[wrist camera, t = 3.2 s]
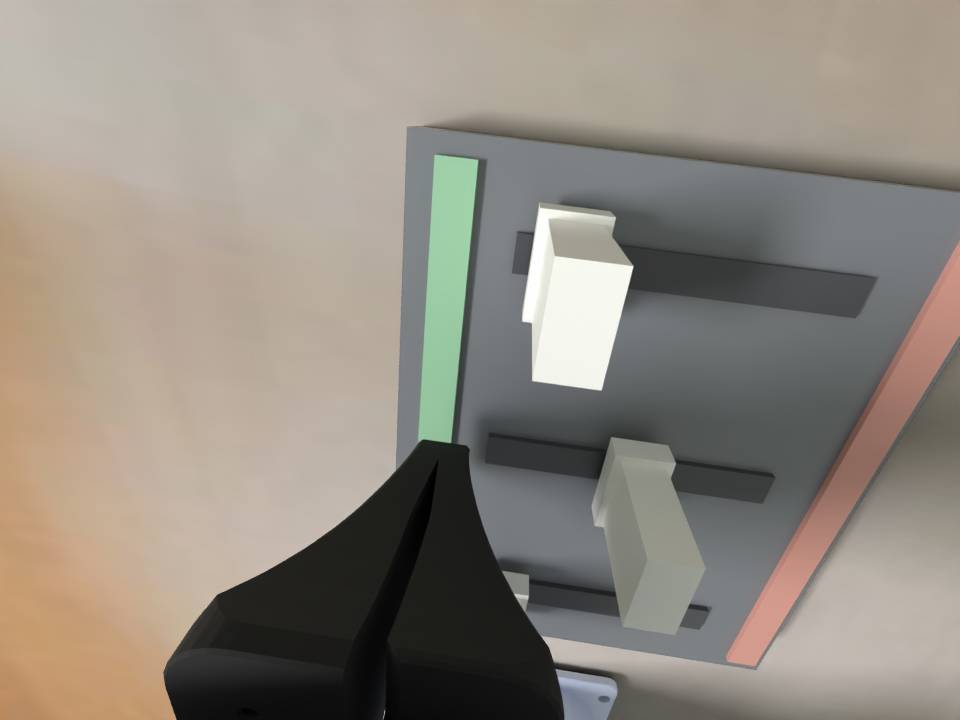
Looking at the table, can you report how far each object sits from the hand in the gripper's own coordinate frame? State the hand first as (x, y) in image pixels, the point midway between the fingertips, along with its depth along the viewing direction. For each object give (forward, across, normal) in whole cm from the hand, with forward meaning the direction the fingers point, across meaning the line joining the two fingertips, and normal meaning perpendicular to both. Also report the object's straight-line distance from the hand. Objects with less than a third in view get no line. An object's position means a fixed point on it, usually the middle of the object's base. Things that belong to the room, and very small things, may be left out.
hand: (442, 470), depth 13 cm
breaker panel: (+3, -5, 0) cm, 6 cm away
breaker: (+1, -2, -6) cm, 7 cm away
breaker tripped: (+1, -5, 0) cm, 5 cm away
